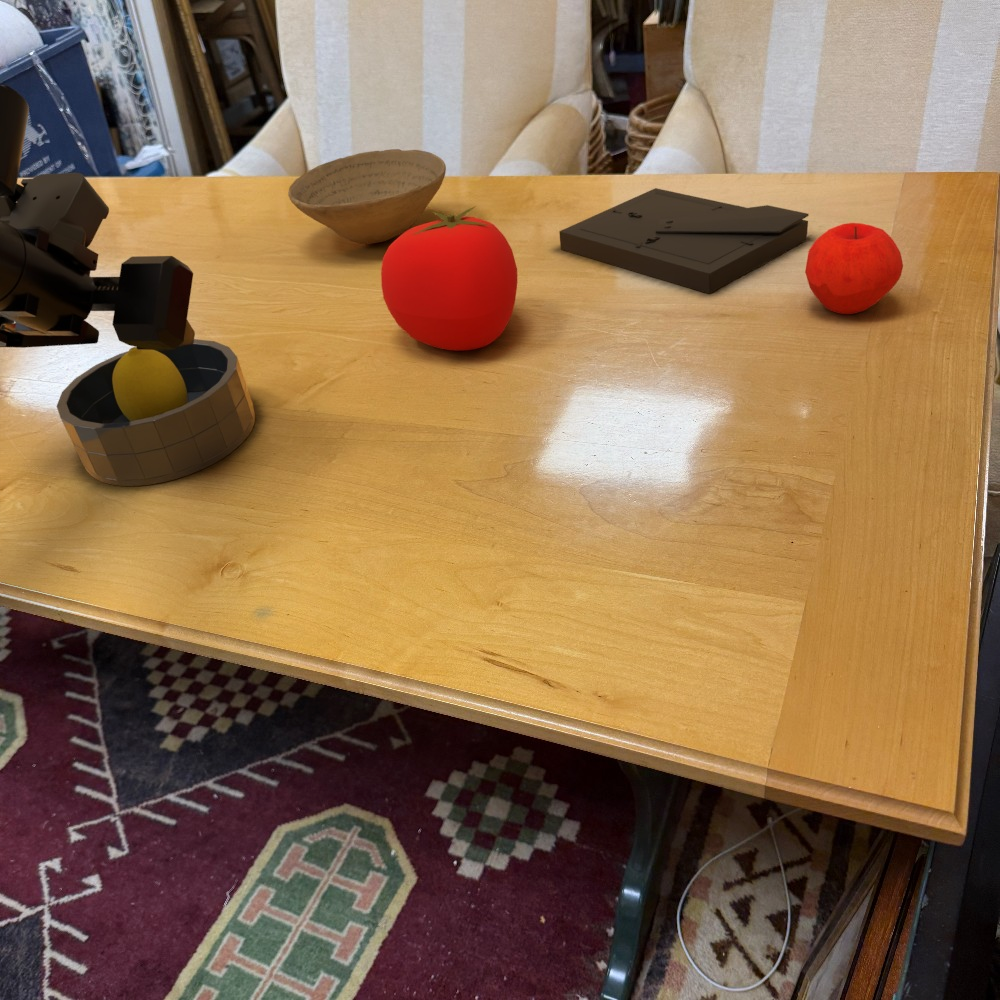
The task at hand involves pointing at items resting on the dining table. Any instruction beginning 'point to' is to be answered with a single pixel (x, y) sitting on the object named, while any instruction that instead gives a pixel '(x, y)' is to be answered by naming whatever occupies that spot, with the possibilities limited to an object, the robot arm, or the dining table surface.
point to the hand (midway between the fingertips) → (143, 337)
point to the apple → (853, 267)
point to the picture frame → (686, 238)
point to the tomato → (451, 282)
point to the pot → (160, 419)
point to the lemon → (147, 384)
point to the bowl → (370, 192)
